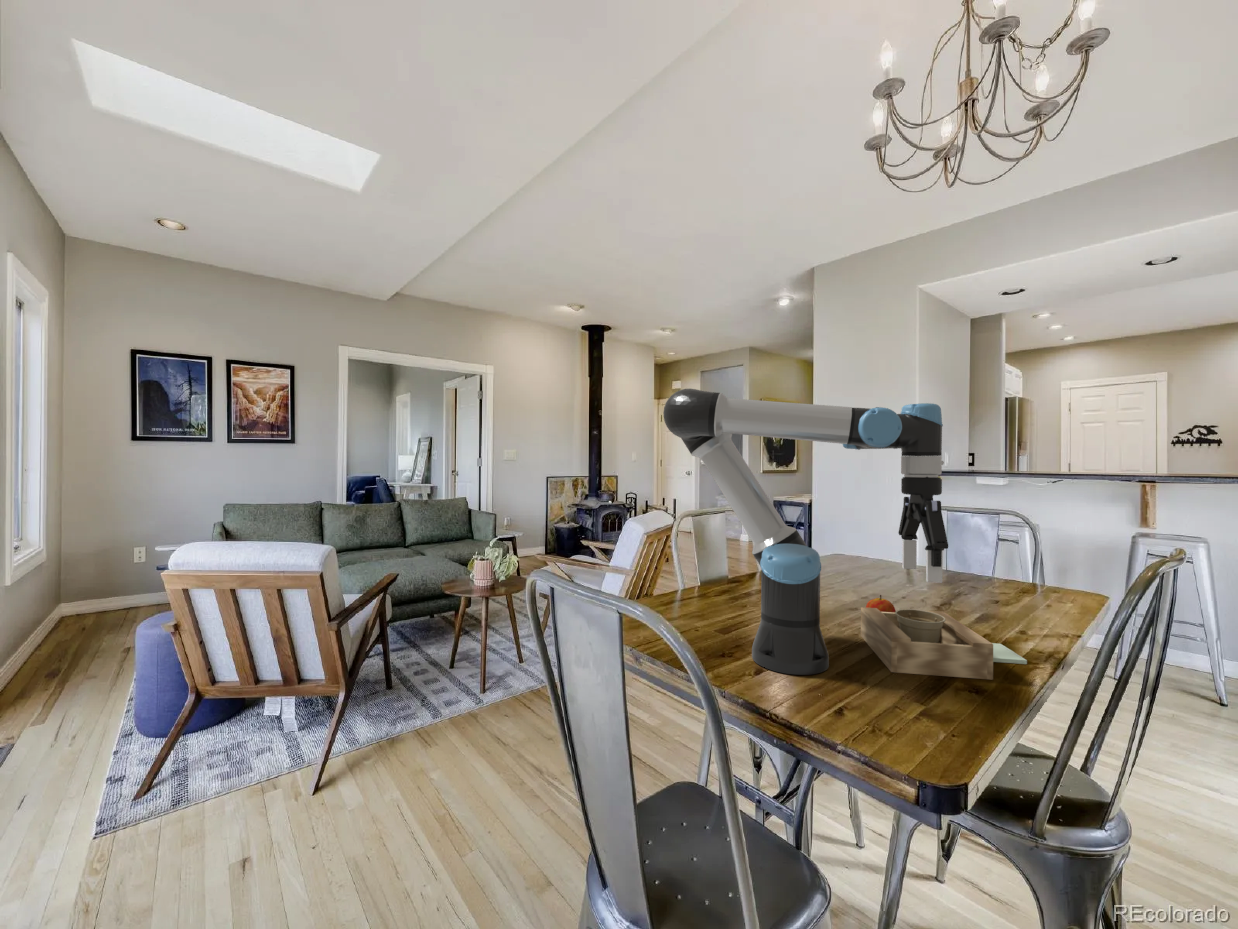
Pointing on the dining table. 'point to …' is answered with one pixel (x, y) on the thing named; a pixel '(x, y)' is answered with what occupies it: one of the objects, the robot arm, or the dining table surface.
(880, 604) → the fruit
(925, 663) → the crate
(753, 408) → the robot arm
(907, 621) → the flower pot
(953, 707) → the dining table surface
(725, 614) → the dining table surface
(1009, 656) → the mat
